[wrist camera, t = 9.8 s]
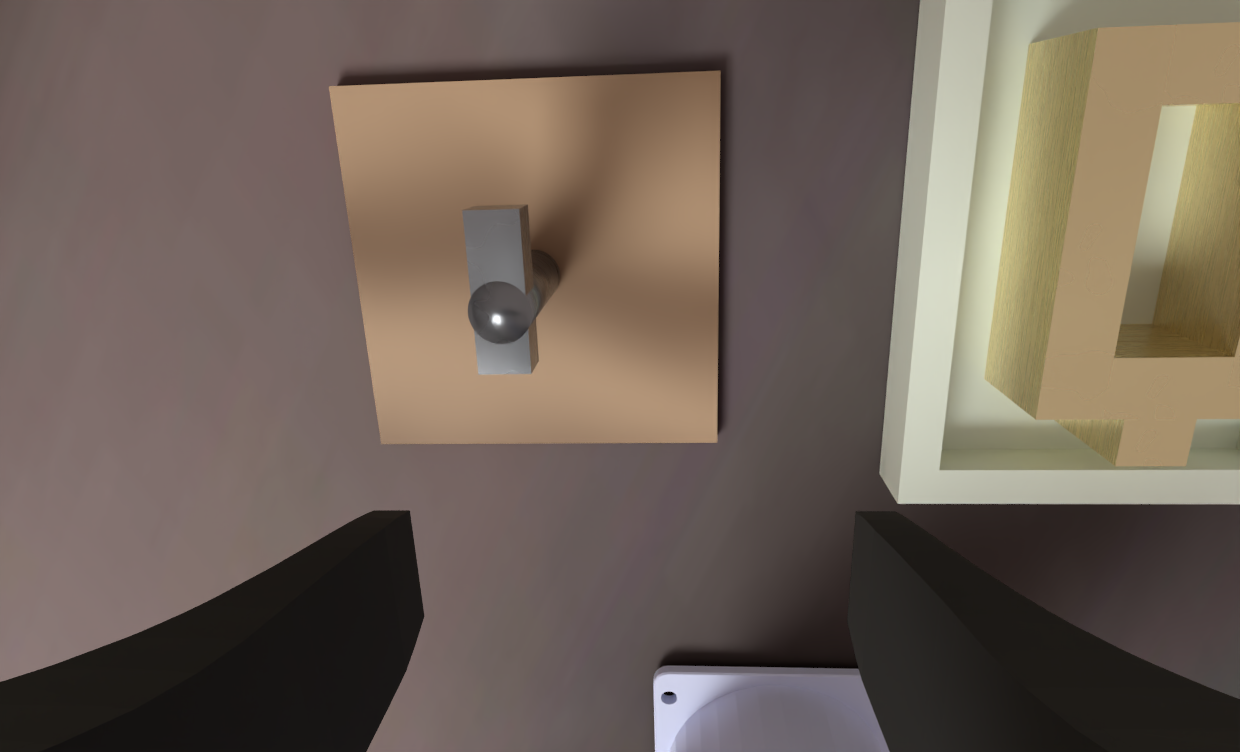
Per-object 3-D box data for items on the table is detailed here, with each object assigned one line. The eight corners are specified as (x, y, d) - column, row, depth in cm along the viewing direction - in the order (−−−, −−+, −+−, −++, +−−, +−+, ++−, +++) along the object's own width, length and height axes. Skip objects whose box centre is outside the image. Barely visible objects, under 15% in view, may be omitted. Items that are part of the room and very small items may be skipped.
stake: (562, 324, 21) (535, 374, 16) (513, 325, 21) (473, 374, 16) (555, 191, 19) (524, 208, 15) (502, 193, 19) (457, 210, 15)
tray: (1251, 472, 21) (1304, 504, 19) (879, 473, 22) (897, 503, 20) (1403, -110, 16) (1490, -138, 15) (927, -84, 17) (956, -109, 15)
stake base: (716, 437, 22) (717, 442, 21) (386, 438, 22) (381, 444, 22) (719, 71, 19) (720, 70, 18) (335, 87, 19) (329, 86, 19)
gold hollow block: (1278, 34, 17) (1399, 15, 14) (1189, 418, 20) (1275, 466, 17) (1028, 44, 17) (1098, 27, 15) (978, 419, 21) (1028, 466, 18)
